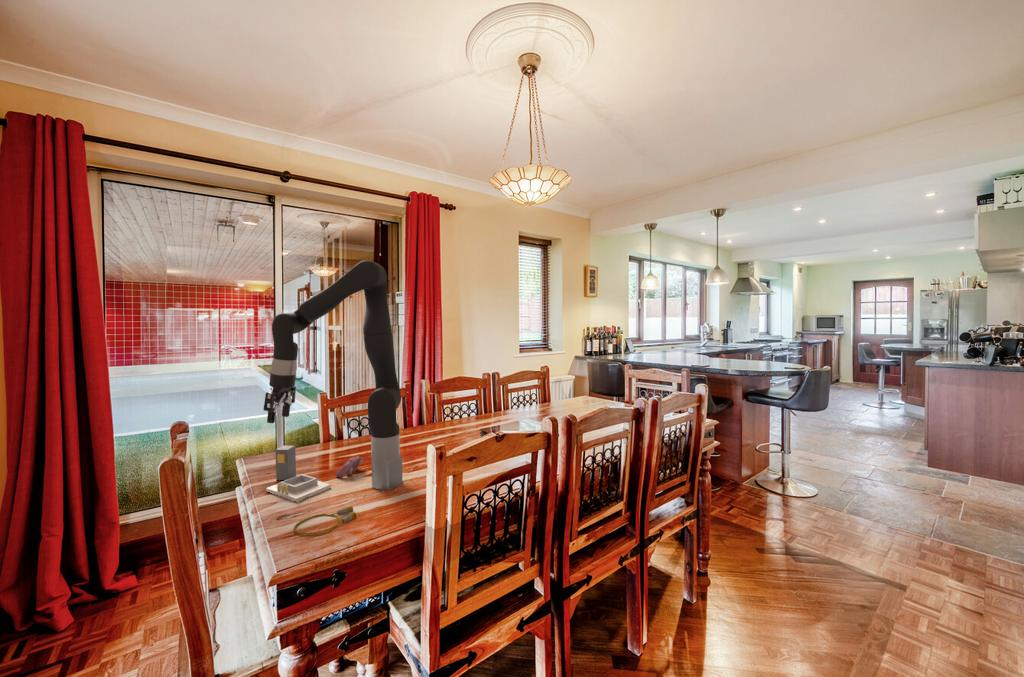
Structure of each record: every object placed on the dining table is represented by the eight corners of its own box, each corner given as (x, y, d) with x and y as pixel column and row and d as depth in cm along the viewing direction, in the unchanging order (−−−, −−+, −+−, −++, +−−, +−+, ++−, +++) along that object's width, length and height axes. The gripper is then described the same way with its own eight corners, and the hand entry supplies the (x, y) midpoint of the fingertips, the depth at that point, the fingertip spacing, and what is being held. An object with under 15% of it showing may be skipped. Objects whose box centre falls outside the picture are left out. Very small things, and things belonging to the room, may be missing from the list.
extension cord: (355, 530, 110) (355, 523, 109) (290, 541, 104) (289, 534, 104) (357, 510, 121) (357, 504, 121) (297, 519, 116) (297, 512, 116)
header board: (330, 487, 136) (330, 477, 136) (296, 502, 125) (296, 490, 125) (300, 478, 143) (300, 468, 143) (266, 491, 133) (265, 480, 133)
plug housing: (296, 475, 146) (295, 445, 146) (287, 481, 141) (286, 450, 141) (284, 475, 146) (283, 445, 146) (275, 481, 141) (274, 450, 141)
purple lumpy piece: (344, 483, 144) (351, 466, 143) (333, 476, 144) (341, 459, 144) (359, 472, 153) (367, 456, 152) (349, 466, 154) (357, 450, 153)
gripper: (282, 376, 129) (277, 426, 130) (305, 370, 144) (300, 416, 145) (259, 373, 129) (253, 423, 130) (284, 367, 144) (279, 413, 145)
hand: (278, 419), depth 137 cm, fingers open, 8 cm apart
